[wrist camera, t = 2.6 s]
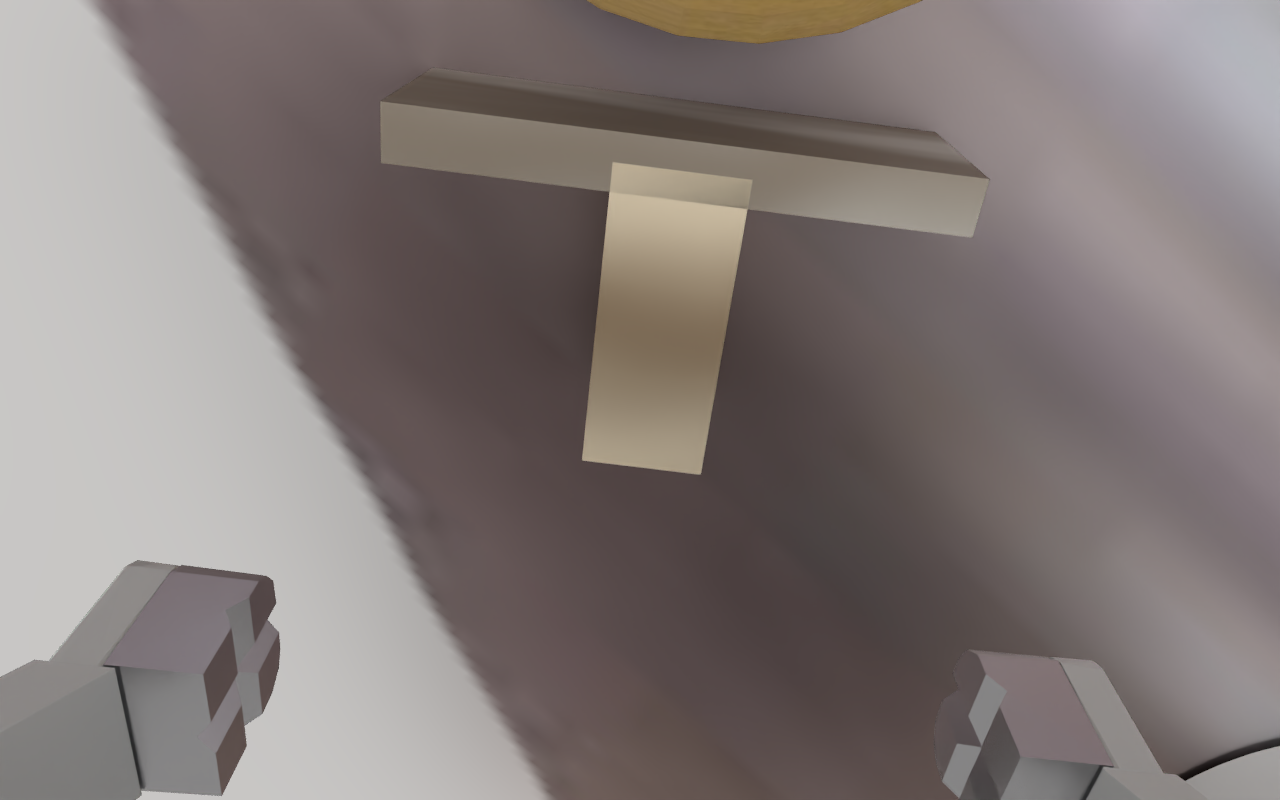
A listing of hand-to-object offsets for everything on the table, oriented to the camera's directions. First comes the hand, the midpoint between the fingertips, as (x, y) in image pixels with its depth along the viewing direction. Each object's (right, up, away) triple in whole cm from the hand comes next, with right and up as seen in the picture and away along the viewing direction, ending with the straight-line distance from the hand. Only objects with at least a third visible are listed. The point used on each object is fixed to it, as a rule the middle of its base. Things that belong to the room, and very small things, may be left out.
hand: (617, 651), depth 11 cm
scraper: (+1, +7, +13) cm, 14 cm away
